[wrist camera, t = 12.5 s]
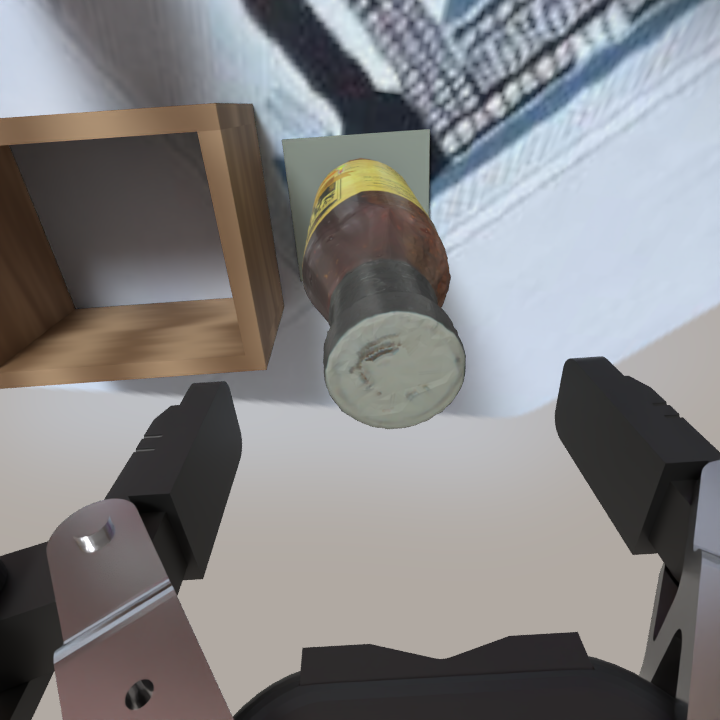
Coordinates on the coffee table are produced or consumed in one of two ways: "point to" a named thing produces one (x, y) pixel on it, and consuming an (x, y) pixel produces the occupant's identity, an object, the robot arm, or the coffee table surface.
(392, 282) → the sauce bottle
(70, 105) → the coffee table surface
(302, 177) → the pad
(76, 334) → the crate
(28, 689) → the robot arm
